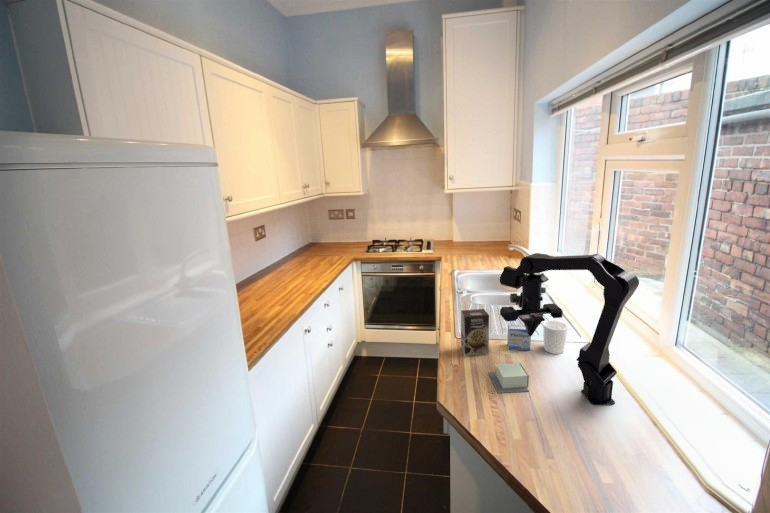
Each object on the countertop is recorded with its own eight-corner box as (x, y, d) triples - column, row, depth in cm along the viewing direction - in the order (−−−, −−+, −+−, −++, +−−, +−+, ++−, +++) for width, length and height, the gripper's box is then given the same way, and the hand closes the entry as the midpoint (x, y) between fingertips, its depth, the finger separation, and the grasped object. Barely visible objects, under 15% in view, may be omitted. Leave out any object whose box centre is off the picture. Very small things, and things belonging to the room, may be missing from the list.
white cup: (543, 342, 136) (544, 319, 133) (566, 346, 132) (568, 322, 129) (540, 352, 130) (542, 327, 127) (564, 357, 126) (566, 331, 123)
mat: (516, 371, 119) (516, 370, 119) (528, 391, 108) (528, 390, 108) (488, 373, 119) (488, 372, 119) (498, 393, 109) (498, 392, 109)
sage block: (520, 363, 116) (496, 364, 116) (528, 375, 109) (503, 377, 109) (520, 373, 117) (496, 375, 117) (528, 386, 110) (502, 388, 110)
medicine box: (508, 349, 133) (508, 329, 131) (507, 344, 137) (507, 323, 135) (530, 351, 131) (531, 330, 129) (528, 345, 135) (529, 324, 133)
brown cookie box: (465, 356, 130) (464, 316, 126) (460, 348, 136) (460, 309, 132) (489, 354, 130) (489, 314, 126) (484, 346, 137) (484, 307, 132)
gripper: (548, 282, 122) (546, 323, 126) (495, 285, 122) (494, 326, 126) (564, 293, 111) (562, 338, 115) (506, 297, 111) (505, 341, 115)
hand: (529, 335), depth 118 cm, fingers closed
